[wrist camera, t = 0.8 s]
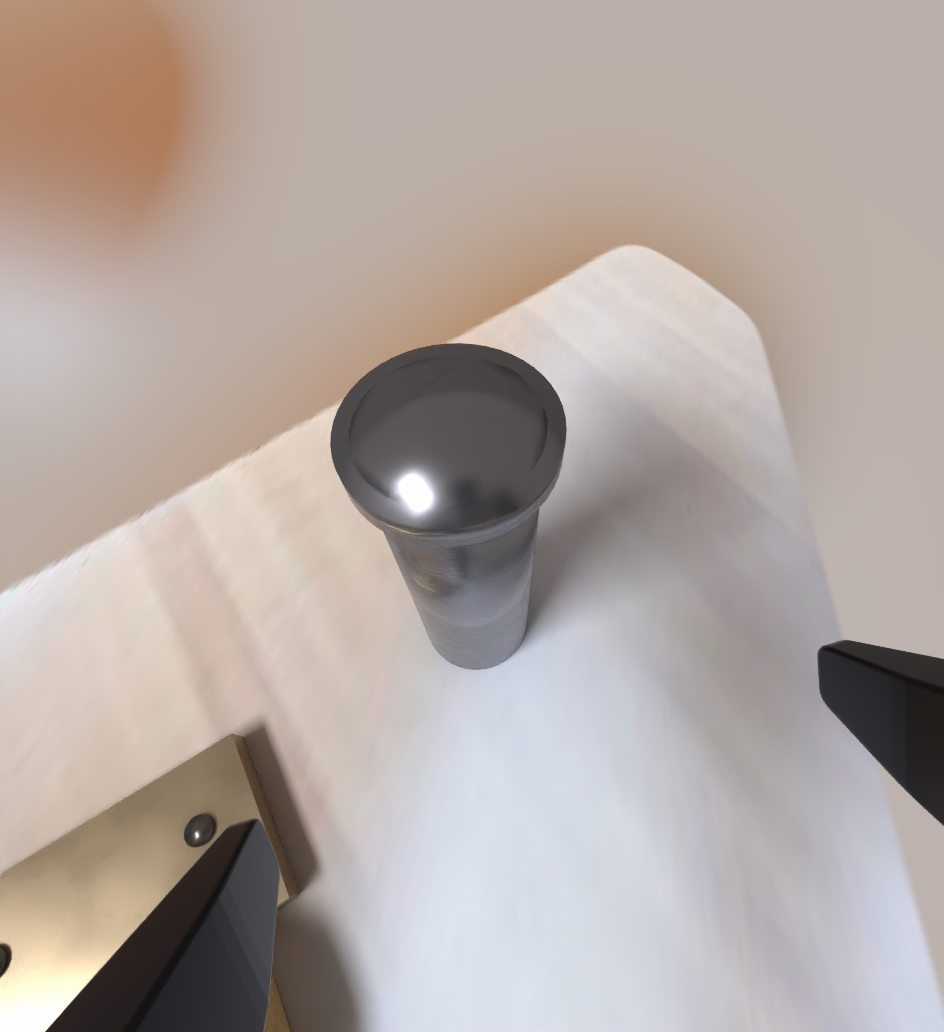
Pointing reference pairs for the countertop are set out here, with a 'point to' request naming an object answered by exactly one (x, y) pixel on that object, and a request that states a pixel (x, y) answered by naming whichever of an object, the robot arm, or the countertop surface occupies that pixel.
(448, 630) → the hinge pin
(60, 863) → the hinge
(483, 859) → the countertop surface
